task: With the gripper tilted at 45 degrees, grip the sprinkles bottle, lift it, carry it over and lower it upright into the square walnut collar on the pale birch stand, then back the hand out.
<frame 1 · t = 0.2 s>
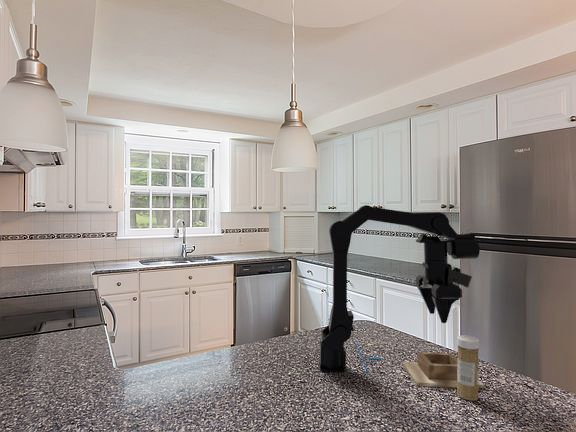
hand: (437, 318, 97), 14 cm above the worktop, tool pointing down, fingers open, 9 cm apart
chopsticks: (369, 359, 106), on the worktop
sprinkles bottle: (467, 397, 83), on the worktop
bottle stand: (440, 375, 94), on the worktop
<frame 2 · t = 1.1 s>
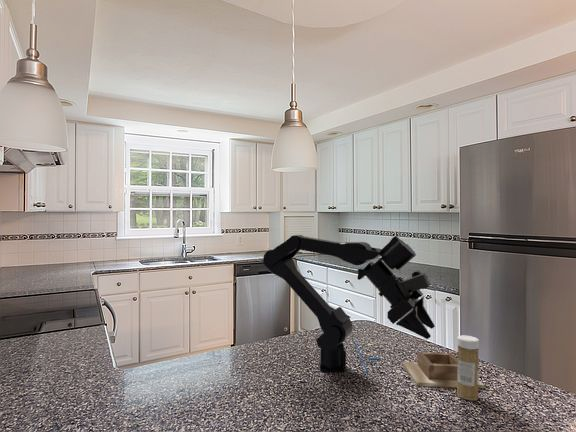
hand: (431, 332, 87), 13 cm above the worktop, tool tilted 45°, fingers open, 9 cm apart
nothing on the worktop moved.
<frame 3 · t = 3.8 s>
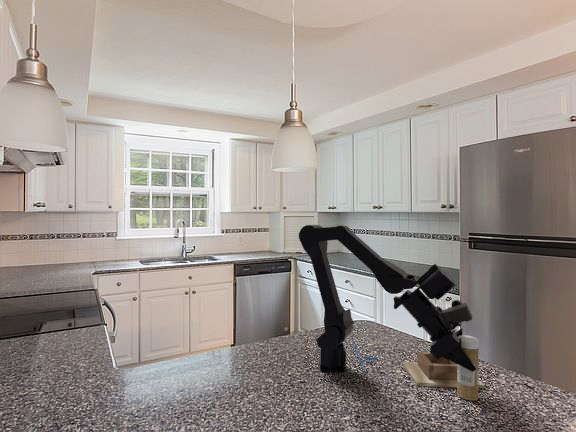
hand: (474, 366, 83), 7 cm above the worktop, tool tilted 45°, fingers closed on sprinkles bottle, 4 cm apart
sprinkles bottle: (467, 397, 83), on the worktop, touching gripper
when the fingers open (9 cm above the worktop, at t = 7.3 s): sprinkles bottle stays where it is, resting on bottle stand.
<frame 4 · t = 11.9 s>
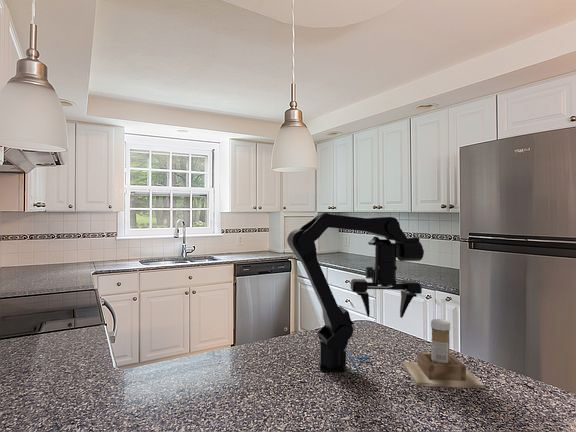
hand: (384, 316, 102), 13 cm above the worktop, tool pointing down, fingers open, 9 cm apart
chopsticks: (357, 359, 107), on the worktop
sprinkles bottle: (440, 373, 94), point 1 cm above the worktop, touching bottle stand
at the end: sprinkles bottle 0.3 cm off-centre on the bottle stand, point 0.6 cm above the bottle stand's base; sprinkles bottle tilted 0°; the gripper is holding nothing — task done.
